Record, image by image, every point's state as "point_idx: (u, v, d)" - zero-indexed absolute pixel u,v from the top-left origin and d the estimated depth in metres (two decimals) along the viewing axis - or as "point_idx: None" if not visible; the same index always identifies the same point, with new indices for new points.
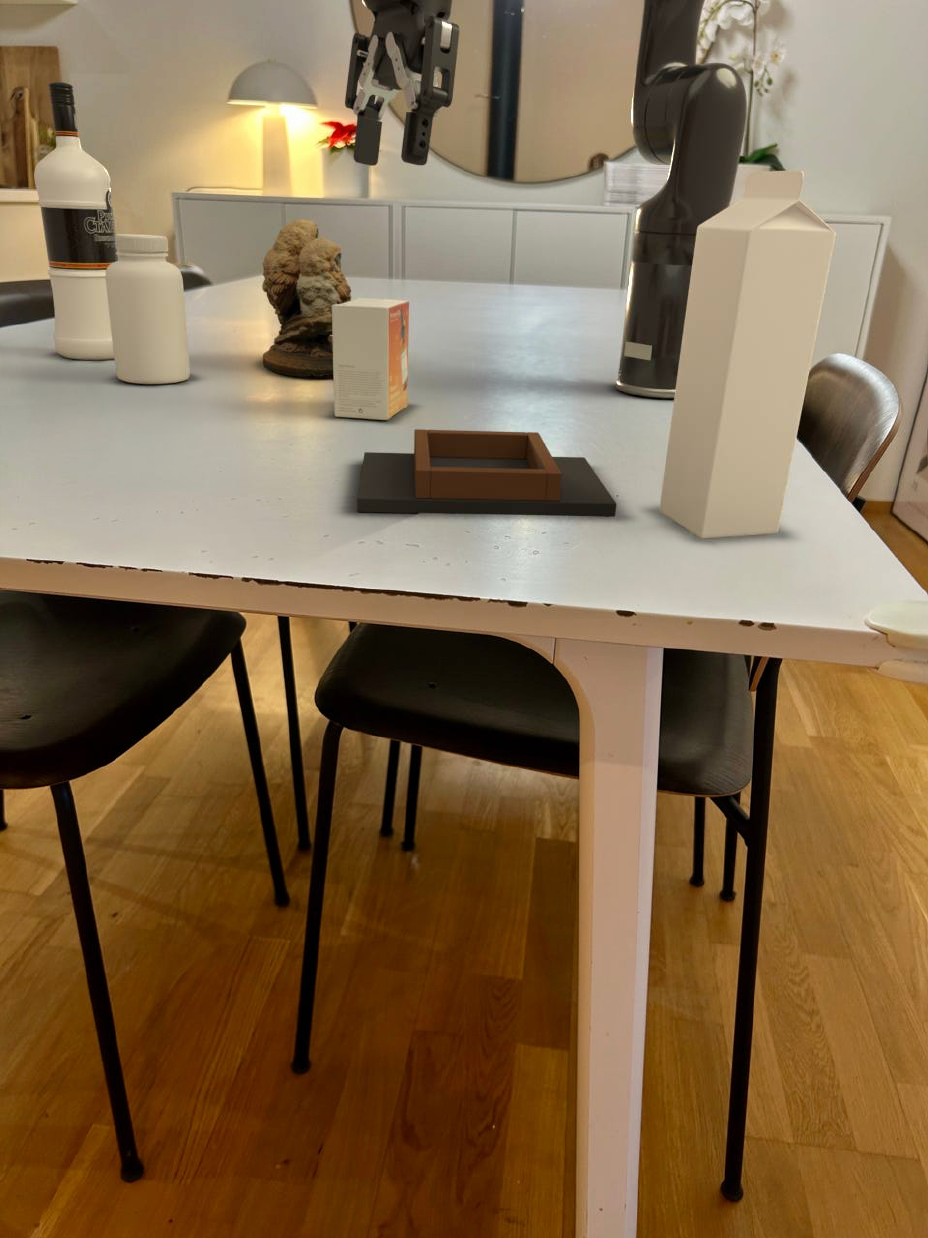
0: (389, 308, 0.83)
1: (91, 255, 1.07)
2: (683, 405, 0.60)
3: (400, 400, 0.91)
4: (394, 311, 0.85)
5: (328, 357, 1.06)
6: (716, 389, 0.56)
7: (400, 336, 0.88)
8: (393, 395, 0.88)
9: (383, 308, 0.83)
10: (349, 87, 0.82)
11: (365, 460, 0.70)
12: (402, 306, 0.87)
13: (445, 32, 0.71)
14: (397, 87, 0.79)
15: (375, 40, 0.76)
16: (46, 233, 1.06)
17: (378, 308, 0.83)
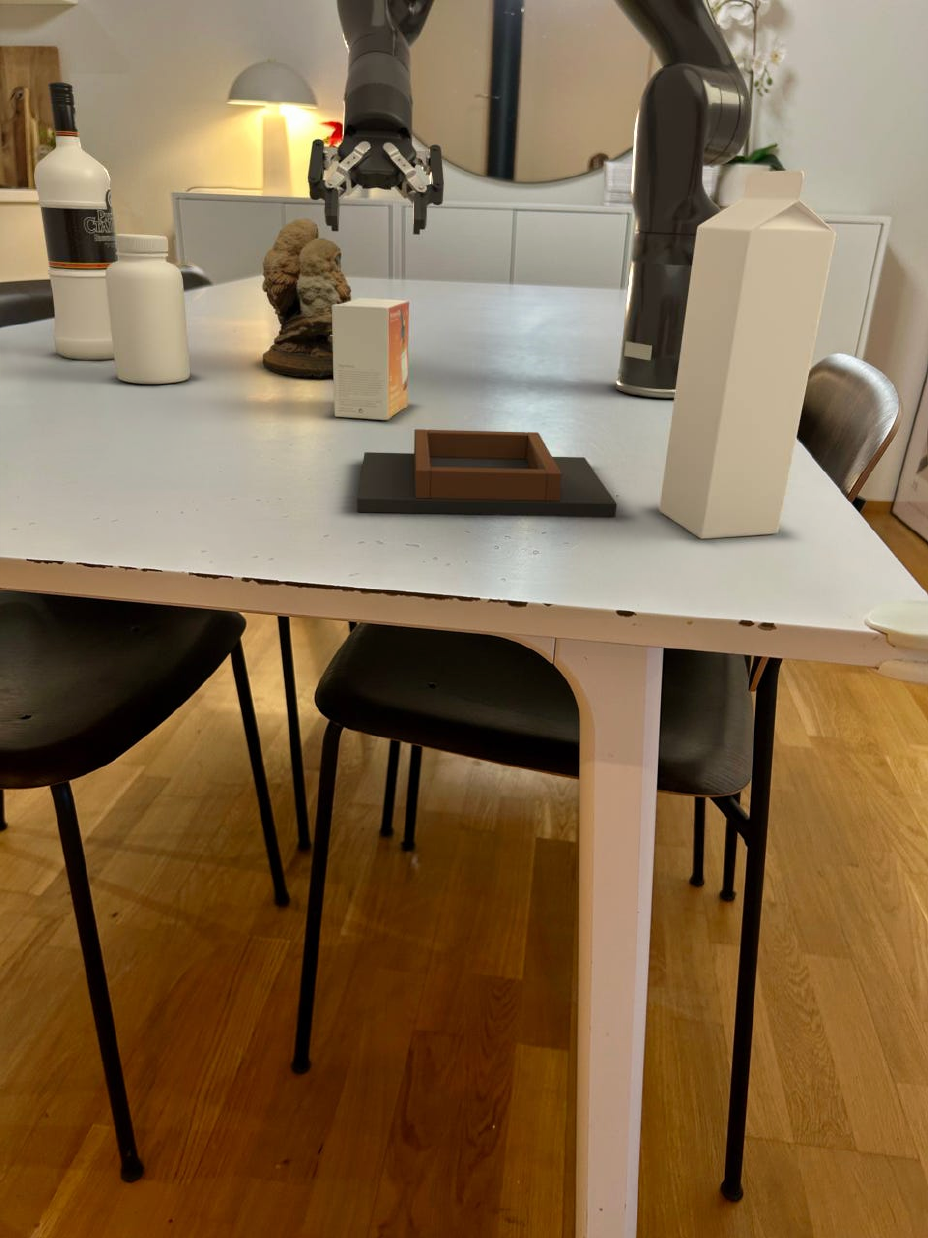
0: (389, 308, 0.83)
1: (91, 255, 1.07)
2: (683, 405, 0.60)
3: (400, 400, 0.91)
4: (394, 311, 0.85)
5: (328, 357, 1.06)
6: (716, 389, 0.56)
7: (400, 336, 0.88)
8: (393, 395, 0.88)
9: (383, 308, 0.83)
10: (314, 170, 0.94)
11: (365, 460, 0.70)
12: (402, 306, 0.87)
13: None
14: (370, 184, 0.96)
15: (366, 144, 0.95)
16: (46, 233, 1.06)
17: (378, 308, 0.83)
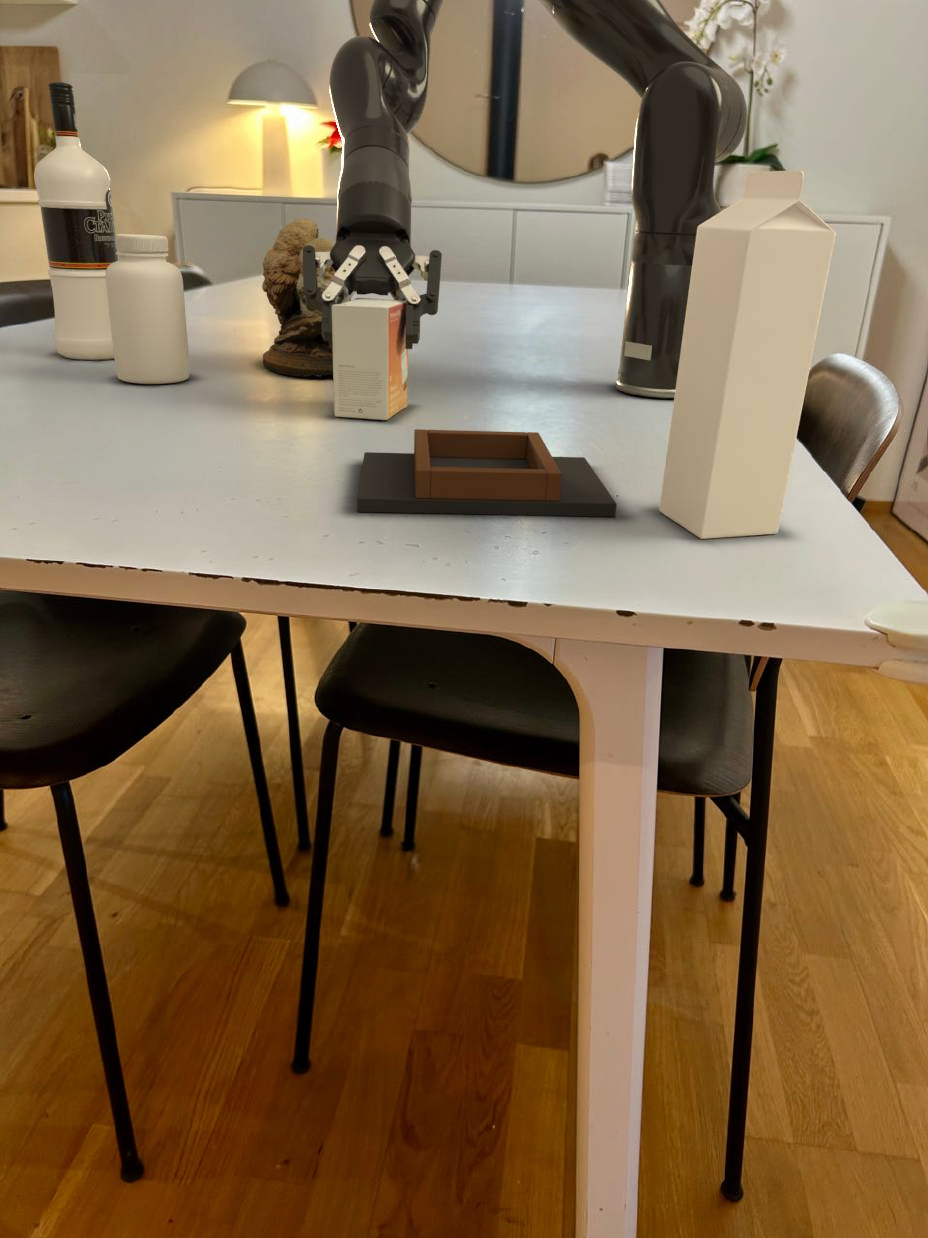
0: (389, 308, 0.83)
1: (91, 255, 1.07)
2: (683, 405, 0.60)
3: (400, 400, 0.91)
4: (394, 311, 0.85)
5: (328, 357, 1.06)
6: (716, 389, 0.56)
7: (400, 336, 0.88)
8: (393, 395, 0.88)
9: (383, 308, 0.83)
10: (309, 280, 0.87)
11: (365, 460, 0.70)
12: (402, 306, 0.87)
13: None
14: (368, 290, 0.89)
15: (361, 248, 0.88)
16: (46, 233, 1.06)
17: (378, 308, 0.83)
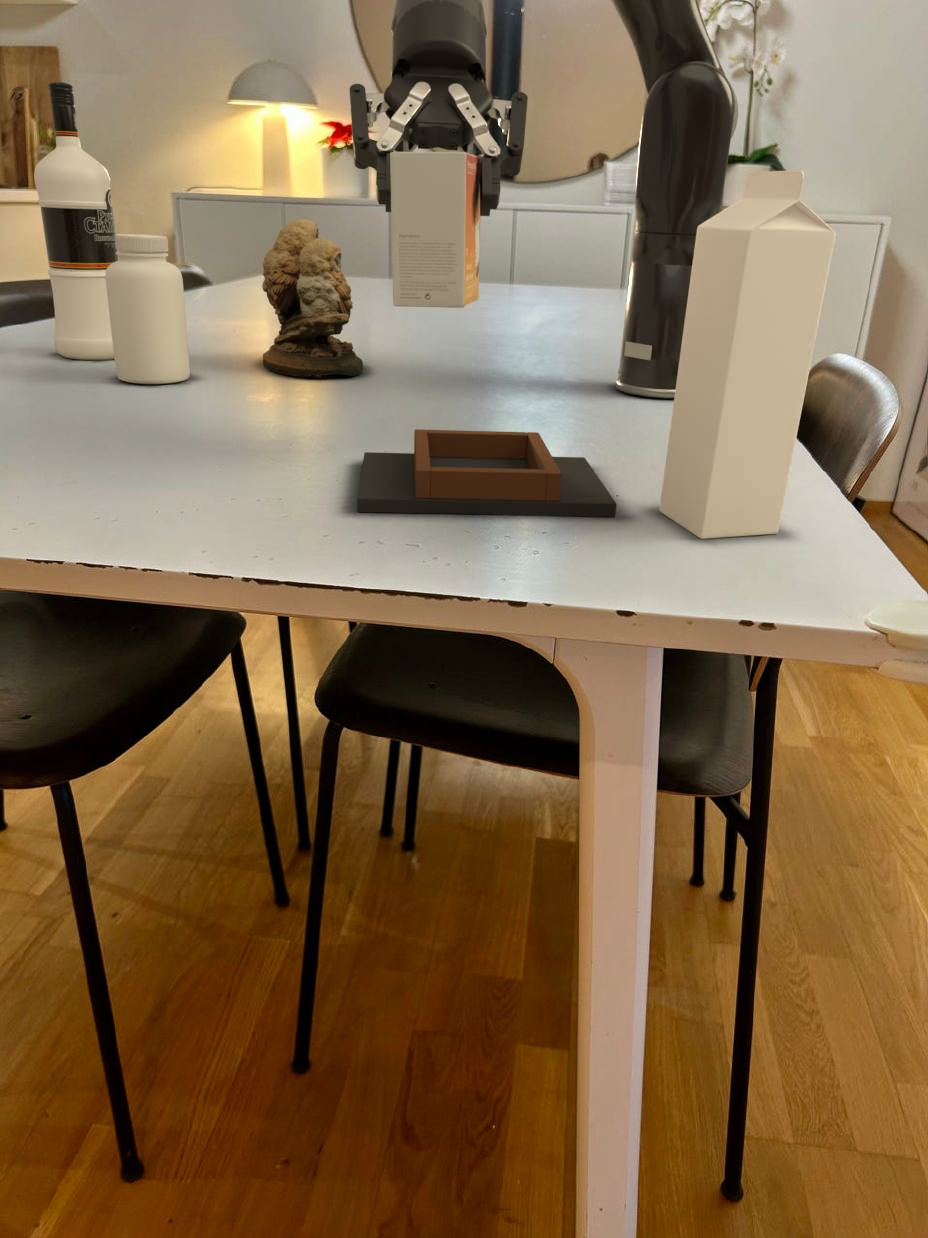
0: (466, 154, 0.63)
1: (91, 255, 1.07)
2: (683, 405, 0.60)
3: (474, 288, 0.71)
4: (471, 162, 0.65)
5: (328, 357, 1.06)
6: (716, 389, 0.56)
7: (475, 199, 0.68)
8: (468, 276, 0.68)
9: (459, 153, 0.63)
10: (359, 126, 0.67)
11: (365, 460, 0.70)
12: (477, 160, 0.67)
13: None
14: (434, 141, 0.69)
15: (425, 85, 0.68)
16: (46, 233, 1.06)
17: (452, 153, 0.63)
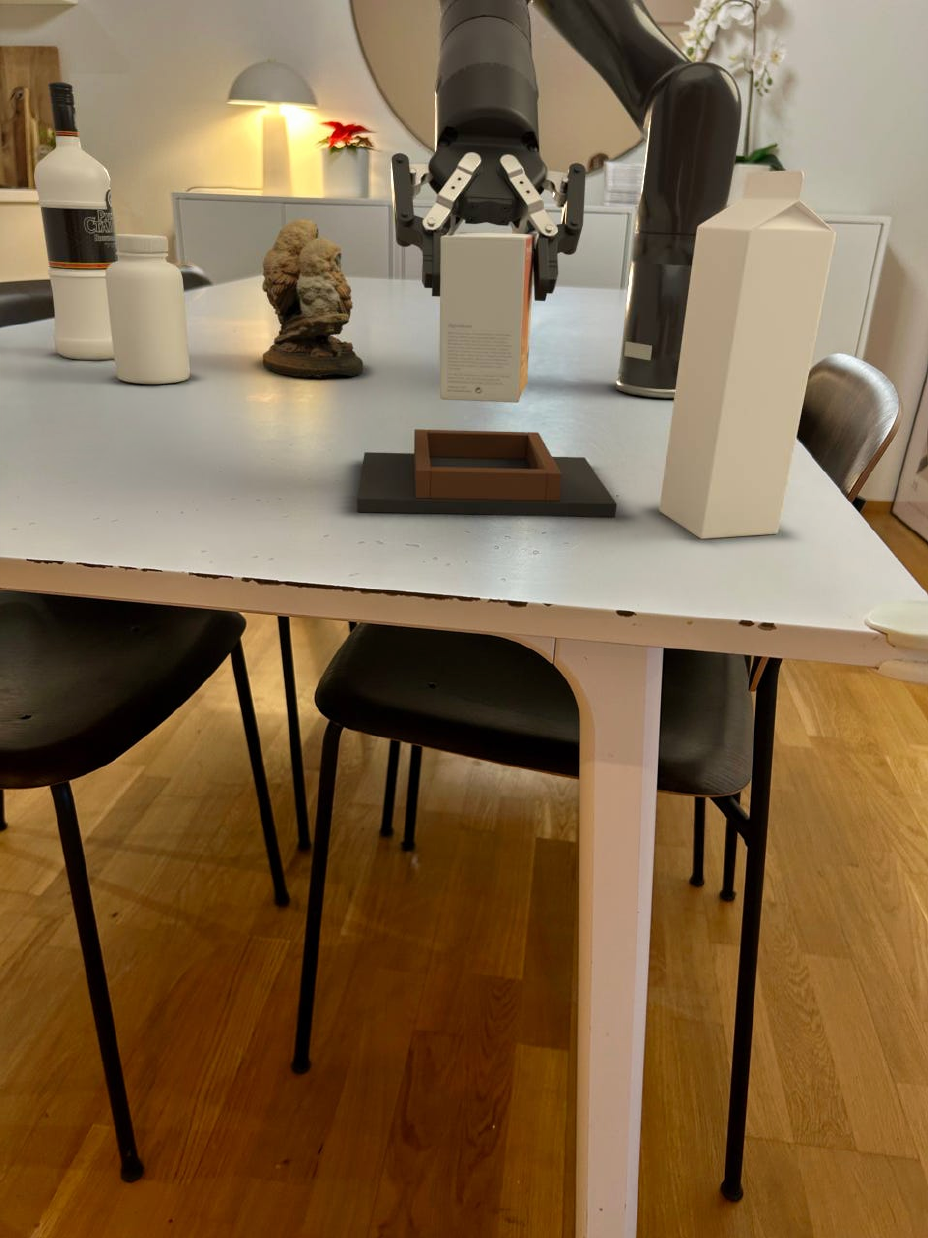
0: (526, 239, 0.57)
1: (91, 255, 1.07)
2: (683, 405, 0.60)
3: (525, 376, 0.65)
4: (528, 245, 0.59)
5: (328, 357, 1.06)
6: (716, 389, 0.56)
7: (530, 283, 0.62)
8: (522, 367, 0.62)
9: (518, 238, 0.57)
10: (403, 201, 0.61)
11: (365, 460, 0.70)
12: (532, 240, 0.61)
13: None
14: (483, 217, 0.63)
15: (474, 157, 0.62)
16: (46, 233, 1.06)
17: (510, 239, 0.57)
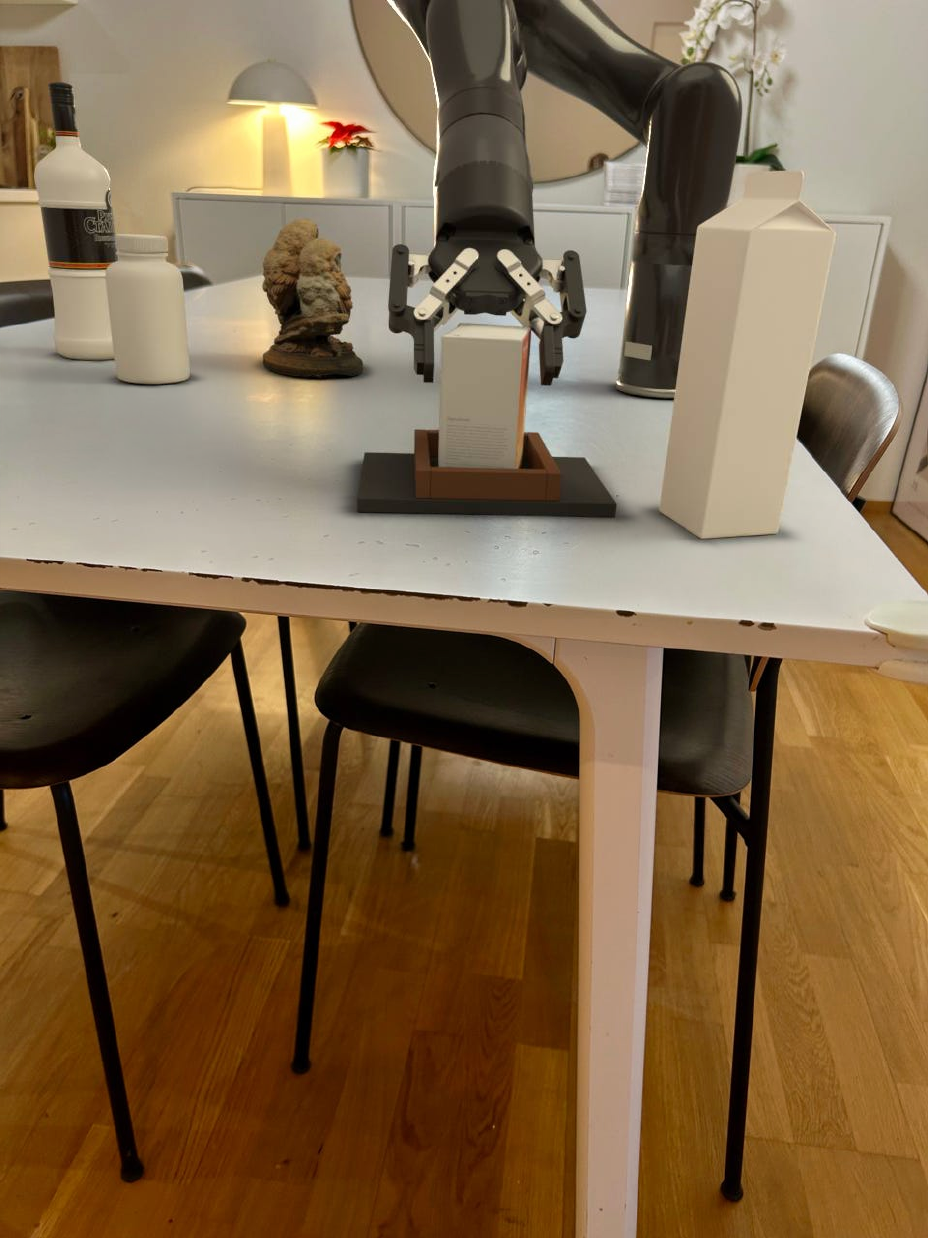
0: (522, 341, 0.60)
1: (91, 255, 1.07)
2: (683, 405, 0.60)
3: (520, 461, 0.68)
4: (525, 344, 0.62)
5: (328, 357, 1.06)
6: (716, 389, 0.56)
7: (526, 376, 0.64)
8: (517, 456, 0.65)
9: (515, 341, 0.60)
10: (397, 292, 0.64)
11: (365, 460, 0.70)
12: (528, 335, 0.64)
13: None
14: (476, 309, 0.66)
15: (472, 252, 0.65)
16: (46, 233, 1.06)
17: (508, 341, 0.60)
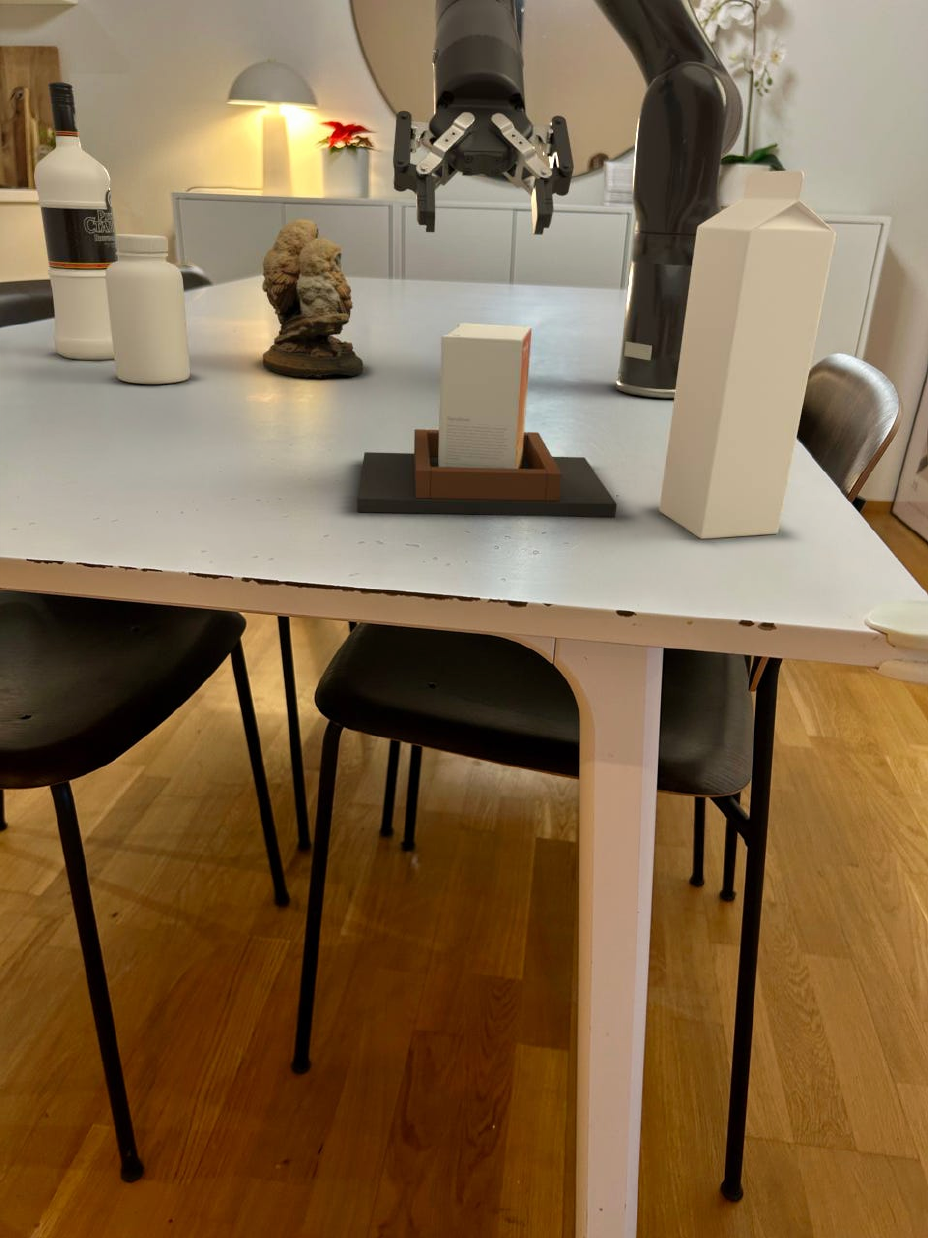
0: (522, 340, 0.60)
1: (91, 255, 1.07)
2: (683, 405, 0.60)
3: (520, 461, 0.68)
4: (525, 344, 0.62)
5: (328, 357, 1.06)
6: (716, 389, 0.56)
7: (526, 376, 0.64)
8: (517, 456, 0.65)
9: (515, 341, 0.60)
10: (401, 151, 0.71)
11: (365, 460, 0.70)
12: (528, 335, 0.64)
13: None
14: (473, 169, 0.73)
15: (469, 116, 0.71)
16: (46, 233, 1.06)
17: (508, 341, 0.60)
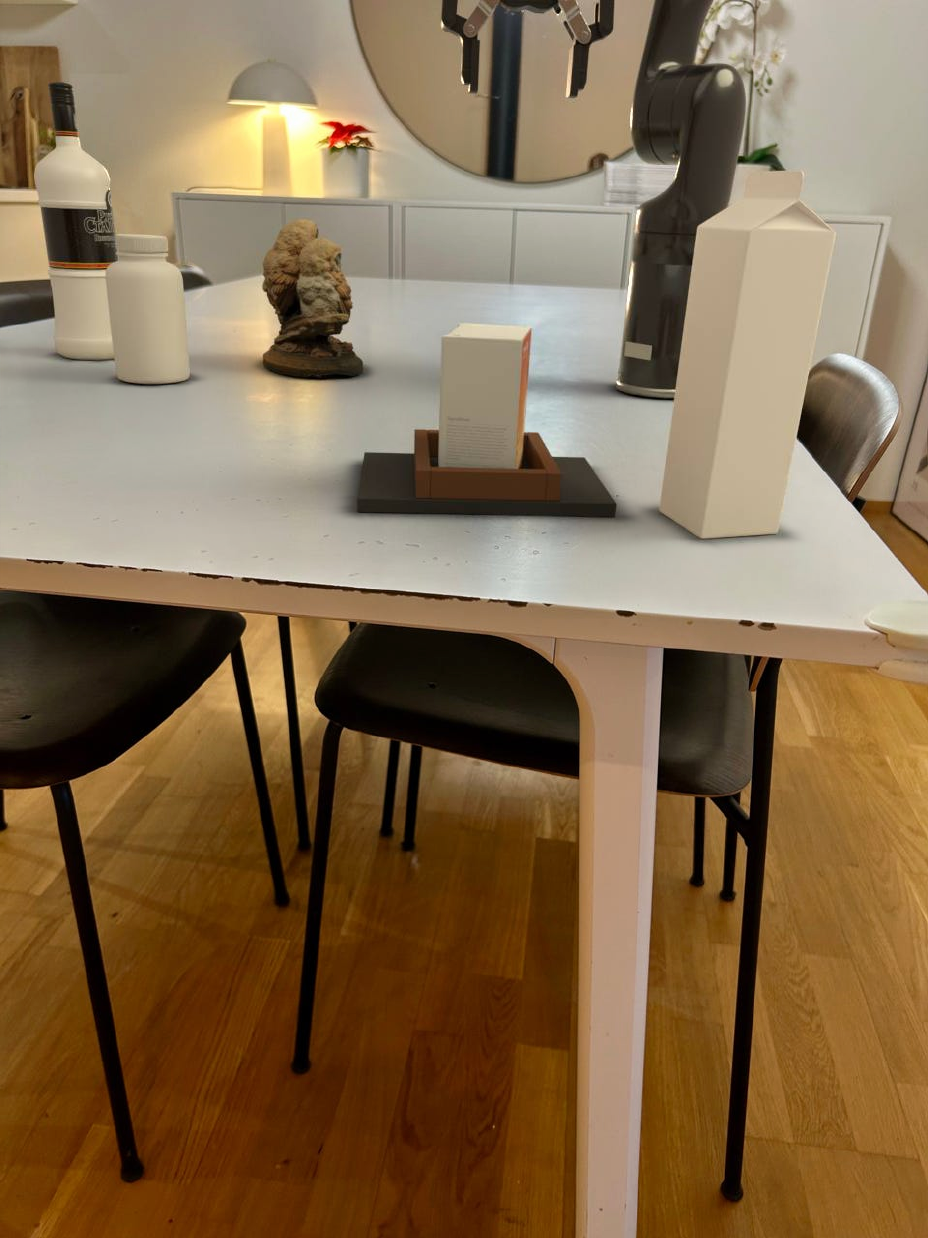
0: (523, 340, 0.60)
1: (91, 255, 1.07)
2: (683, 405, 0.60)
3: (520, 461, 0.68)
4: (525, 344, 0.62)
5: (328, 357, 1.06)
6: (716, 389, 0.56)
7: (526, 376, 0.64)
8: (517, 456, 0.65)
9: (515, 341, 0.60)
10: (449, 3, 0.73)
11: (365, 460, 0.70)
12: (528, 335, 0.64)
13: None
14: (518, 10, 0.75)
15: None
16: (46, 233, 1.06)
17: (508, 341, 0.60)
